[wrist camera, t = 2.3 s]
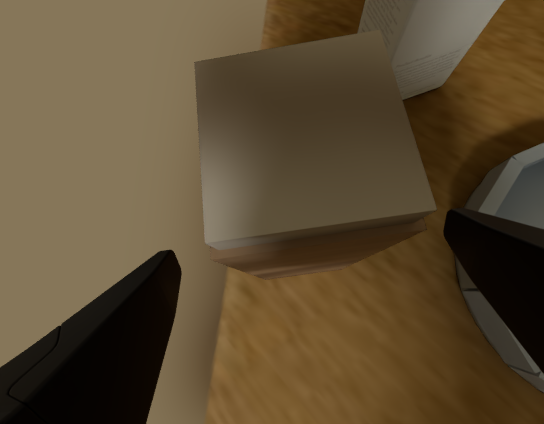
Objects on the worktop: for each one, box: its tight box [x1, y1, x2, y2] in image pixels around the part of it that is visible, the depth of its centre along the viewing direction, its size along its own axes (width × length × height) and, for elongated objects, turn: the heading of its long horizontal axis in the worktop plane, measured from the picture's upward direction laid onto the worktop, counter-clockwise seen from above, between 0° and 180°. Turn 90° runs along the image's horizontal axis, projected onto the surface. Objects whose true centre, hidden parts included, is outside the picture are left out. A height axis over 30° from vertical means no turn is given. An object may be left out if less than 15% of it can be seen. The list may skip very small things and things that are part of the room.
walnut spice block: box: [194, 30, 437, 280], centre depth 12 cm, size 5×5×13 cm
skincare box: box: [358, 0, 504, 100], centre depth 15 cm, size 6×4×12 cm
